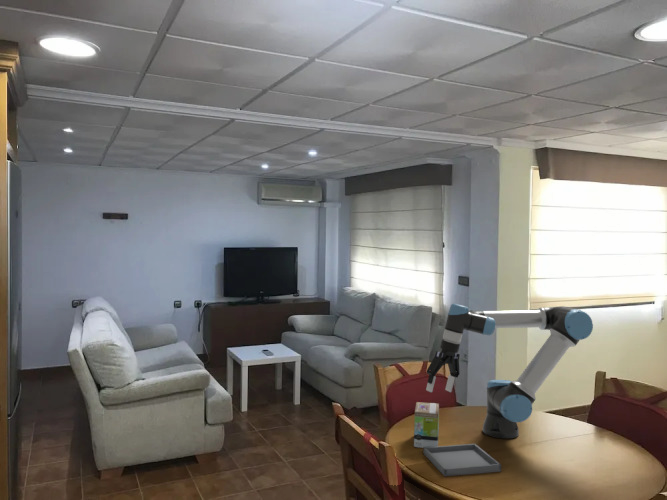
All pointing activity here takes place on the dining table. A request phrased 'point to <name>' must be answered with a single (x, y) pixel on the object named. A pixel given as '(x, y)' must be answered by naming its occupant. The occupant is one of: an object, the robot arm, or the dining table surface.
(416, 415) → the tea box
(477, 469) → the tray
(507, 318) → the robot arm
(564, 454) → the dining table surface
